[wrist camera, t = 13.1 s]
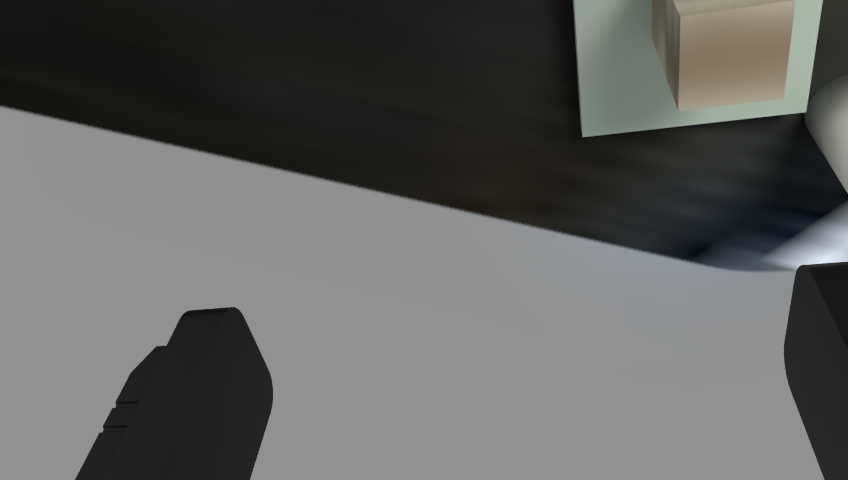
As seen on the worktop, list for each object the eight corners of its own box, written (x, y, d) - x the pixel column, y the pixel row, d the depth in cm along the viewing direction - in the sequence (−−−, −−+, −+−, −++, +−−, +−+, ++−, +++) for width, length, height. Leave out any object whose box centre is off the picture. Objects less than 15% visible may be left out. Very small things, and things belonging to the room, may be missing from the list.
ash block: (652, -45, 33) (680, 16, 27) (747, -60, 32) (795, 0, 27) (652, 39, 35) (678, 110, 30) (740, 27, 35) (783, 98, 29)
